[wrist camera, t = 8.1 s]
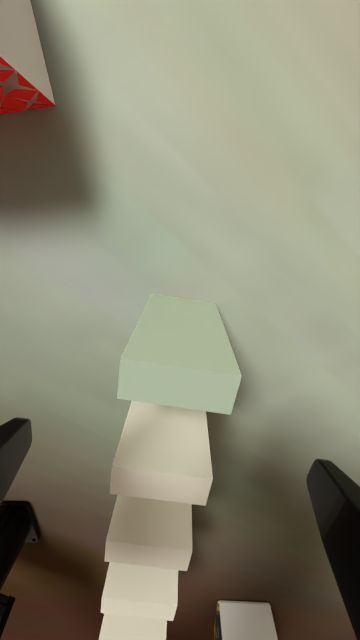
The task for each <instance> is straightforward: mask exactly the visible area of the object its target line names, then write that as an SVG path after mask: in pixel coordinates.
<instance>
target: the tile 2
mask: <svg viewBox="0 0 360 640" xmlns="http://www.w3.org/2000/svg"><path fill="white" fill-rule="evenodd" d="M177 596H178V570H173V569H165V568H156V567H148V566H139V565H131V564H123V563H114V562H110V563H109V567H108V572H107V576H106V581H105V585H104V590H103V594H102V601H101V613H106V614H115V615H124V616H133V617H142V618H151V619H160V620H169V621H173V619H174V616H175V612H176V608H177Z"/></svg>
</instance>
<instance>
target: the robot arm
mask: <svg viewBox="0 0 360 640" xmlns="http://www.w3.org/2000/svg"><path fill="white" fill-rule="evenodd" d="M31 443H32V430H31V421H30V420H29V419H26V418H19V417H17V418H13V419H12V420H10V421H8V422H6V423H4V424H3V425H1V426H0V590H1V588H2V586H3V584H4V582H5V580H6V578H7V576H8V574H9V572H10V570H11V568H12V566H13V564H14V562H15V560H16V558H17V556H18V554H19V552H20V550H21V548H22V547H23V545H24V543H36V542H38V540H39V538H40V535H39V532H38V529H37V526H36V523H35V521H34V518H33V515H32V512H31V509H30V506H29V504H28V503H27V502H2V501H3V499H4V498H5V496H6V494H7V492H8V490H9V488H10V486H11V484H12V482H13V480H14V478H15V476H16V474H17V472H18V470H19V468H20V466H21V464H22V462H23V460H24V458H25V456H26V454H27V452H28V450H29V448H30V446H31ZM307 486H308V490H309V494H310V498H311V502H312V505H313V509H314V513H315V517H316V521H317V524H318V528H319V532H320V535H321V539H322V542H323V545H324V548H325V551H326V554H327V557H328V560H329V562H330V565H331V568H332V571H333V574H334V576H335V579H336V582H337V585H338V588H339V591H340V593H341V596H342V599H343V602H344V605H345V608H346V610H347V613H348V616H349V619H350V622H351V624H352V627H353V630H354V633H355V636H356V639H357V640H360V487H359V486H358V485H357V484H356V483H355V482H354V481H353V480H352V479H350V478H349V477H348V476H347V475H346V474H345V473H344V472H342V471H341V470H340V469H339V468H338V467H337V466H336V465H335V464H333V463H332V462H331V461H329V460H324V459H316V460H315V461H314V462H313V465H312V467H311V469H310V471H309V473H308V475H307ZM14 601H15V597H12V596H10V597H8V596H6V595H3V594H1V593H0V638H1V635H2V632H3V630H4V627H5V624H6V622H7V619H8V617H9V614H10V611H11V609H12V606H13V603H14Z"/></svg>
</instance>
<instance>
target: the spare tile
mask: <svg viewBox="0 0 360 640" xmlns="http://www.w3.org/2000/svg"><path fill="white" fill-rule="evenodd" d="M241 378H242V375H241V373H240V370H239V367H238V364H237V361H236V359H235V356H234V353H233V350H232V347H231V345H230V342H229V339H228V336H227V333H226V331H225V328H224V325H223V322H222V319H221V316H220V314H219V311H218V308H217V305H216V303H210V302H204V301H198V300H192V299H185V298H179V297H173V296H167V295H160V294H154V293H152V294H151V296H150V298H149V300H148V302H147V304H146V306H145V308H144V310H143V312H142V314H141V316H140V319H139V321H138V323H137V325H136V327H135V329H134V331H133V333H132V335H131V337H130V339H129V342H128V344H127V346H126V348H125V350H124V352H123V354H122V356H121V358H120V370H119V382H118V393H117V398H118V399H124V400H131V401H138V402H145V403H152V404H159V405H166V406H173V407H180V408H187V409H194V410H201V411H208V412H215V413H221V414H228V415H231V412H232V409H233V405H234V402H235V398H236V395H237V392H238V388H239V385H240V381H241Z"/></svg>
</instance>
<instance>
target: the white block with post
mask: <svg viewBox="0 0 360 640" xmlns="http://www.w3.org/2000/svg"><path fill="white" fill-rule="evenodd" d="M214 636H215V640H278V638H277V634H276V629H275V624H274V620H273V615H272V611H271V606H270V604H269V603H268V602H251V601H230V600H219V601H218V603H217V610H216V617H215V624H214Z"/></svg>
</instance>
